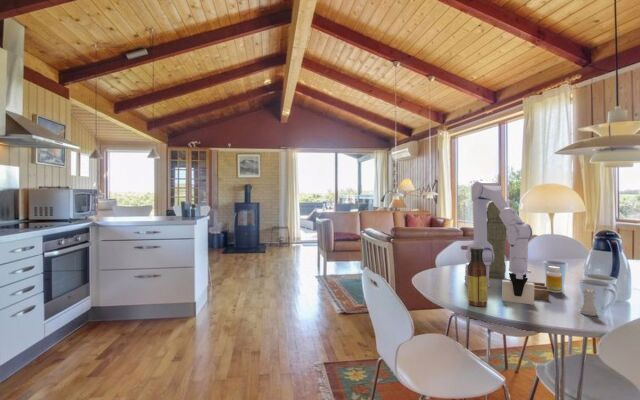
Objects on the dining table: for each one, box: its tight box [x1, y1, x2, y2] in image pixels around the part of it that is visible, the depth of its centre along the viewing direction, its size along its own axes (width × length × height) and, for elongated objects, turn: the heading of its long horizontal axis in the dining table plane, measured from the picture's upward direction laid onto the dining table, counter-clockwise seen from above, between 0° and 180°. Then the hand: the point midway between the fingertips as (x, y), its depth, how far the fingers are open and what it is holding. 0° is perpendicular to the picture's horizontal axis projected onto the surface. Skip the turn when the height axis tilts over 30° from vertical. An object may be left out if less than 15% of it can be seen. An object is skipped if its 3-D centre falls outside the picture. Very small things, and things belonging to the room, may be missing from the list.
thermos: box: [487, 201, 507, 280], centre depth 164 cm, size 9×12×35 cm
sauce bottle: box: [467, 247, 488, 308], centre depth 122 cm, size 7×6×20 cm
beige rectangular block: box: [501, 279, 535, 306], centre depth 126 cm, size 10×3×7 cm, turn 64°
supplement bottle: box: [545, 265, 563, 294], centre depth 141 cm, size 5×5×10 cm
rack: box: [501, 278, 550, 301], centre depth 137 cm, size 15×13×4 cm
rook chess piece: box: [580, 288, 598, 317], centre depth 114 cm, size 4×4×8 cm
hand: (517, 294), depth 126 cm, fingers closed on beige rectangular block, 3 cm apart
